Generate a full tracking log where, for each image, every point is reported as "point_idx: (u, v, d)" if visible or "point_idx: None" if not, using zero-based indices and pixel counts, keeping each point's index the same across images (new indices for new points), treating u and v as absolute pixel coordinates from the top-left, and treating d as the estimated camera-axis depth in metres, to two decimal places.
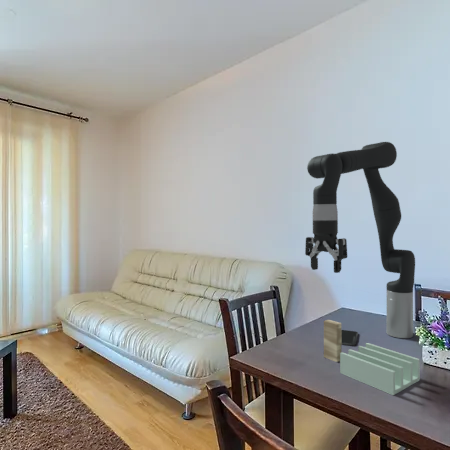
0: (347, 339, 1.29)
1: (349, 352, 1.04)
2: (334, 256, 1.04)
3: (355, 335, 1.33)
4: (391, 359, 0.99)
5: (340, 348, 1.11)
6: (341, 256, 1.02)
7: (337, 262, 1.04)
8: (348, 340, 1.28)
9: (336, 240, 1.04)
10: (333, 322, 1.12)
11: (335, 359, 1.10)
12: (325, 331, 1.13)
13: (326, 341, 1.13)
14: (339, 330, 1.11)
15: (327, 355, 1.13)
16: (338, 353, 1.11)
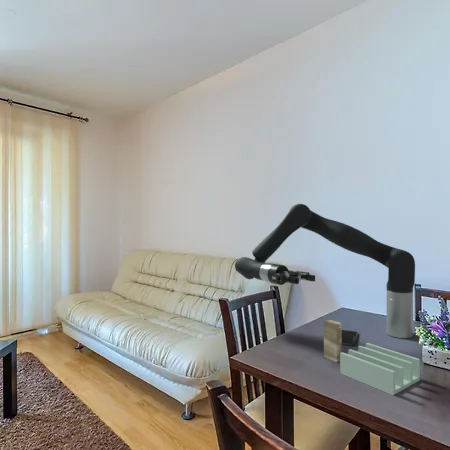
0: (347, 339, 1.29)
1: (349, 352, 1.04)
2: None
3: (355, 335, 1.33)
4: (391, 359, 0.99)
5: (340, 348, 1.11)
6: (282, 283, 1.21)
7: (289, 281, 1.21)
8: (348, 340, 1.28)
9: None
10: (333, 322, 1.12)
11: (335, 359, 1.10)
12: (325, 331, 1.13)
13: (326, 341, 1.13)
14: (339, 330, 1.11)
15: (327, 355, 1.13)
16: (338, 353, 1.11)
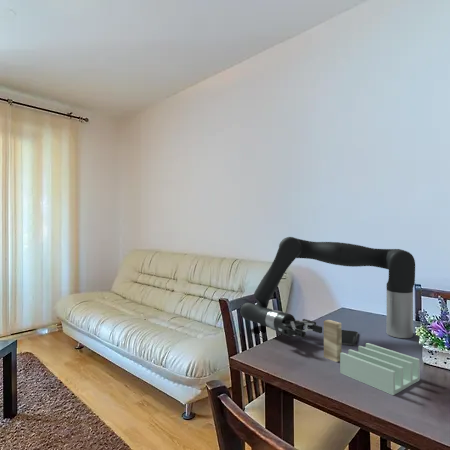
0: (347, 339, 1.29)
1: (349, 352, 1.04)
2: None
3: (355, 335, 1.33)
4: (391, 359, 0.99)
5: (340, 348, 1.11)
6: None
7: None
8: (348, 340, 1.28)
9: None
10: (333, 322, 1.12)
11: (335, 359, 1.10)
12: (325, 331, 1.13)
13: (326, 341, 1.13)
14: (339, 330, 1.11)
15: (327, 355, 1.13)
16: (338, 353, 1.11)
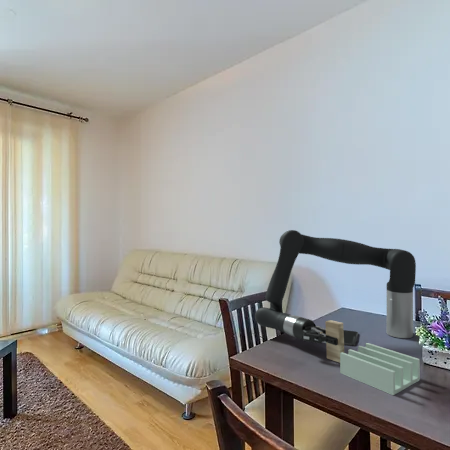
0: (347, 339, 1.29)
1: (349, 352, 1.04)
2: None
3: (355, 335, 1.33)
4: (391, 359, 0.99)
5: (343, 348, 1.10)
6: None
7: None
8: (347, 340, 1.28)
9: None
10: (335, 322, 1.12)
11: (338, 360, 1.09)
12: (327, 332, 1.13)
13: None
14: (341, 330, 1.10)
15: (330, 356, 1.12)
16: None
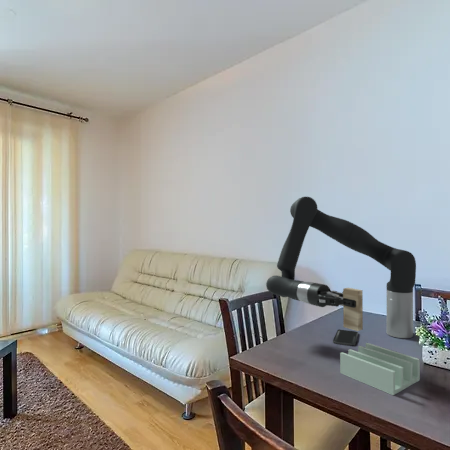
0: (347, 339, 1.29)
1: (349, 352, 1.04)
2: None
3: (355, 335, 1.33)
4: (391, 359, 0.99)
5: (361, 316, 1.05)
6: None
7: (345, 304, 1.06)
8: (347, 340, 1.28)
9: None
10: (353, 289, 1.06)
11: (356, 328, 1.04)
12: None
13: (346, 309, 1.07)
14: (360, 297, 1.04)
15: (347, 324, 1.07)
16: (359, 322, 1.04)
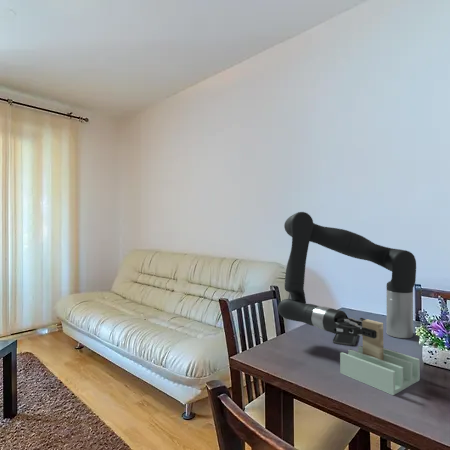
0: (347, 339, 1.29)
1: (349, 352, 1.04)
2: None
3: None
4: (391, 359, 0.99)
5: (382, 351, 1.00)
6: (354, 335, 1.01)
7: None
8: (347, 340, 1.28)
9: None
10: (374, 322, 1.01)
11: None
12: None
13: (366, 343, 1.01)
14: (381, 331, 0.99)
15: None
16: (380, 357, 0.99)
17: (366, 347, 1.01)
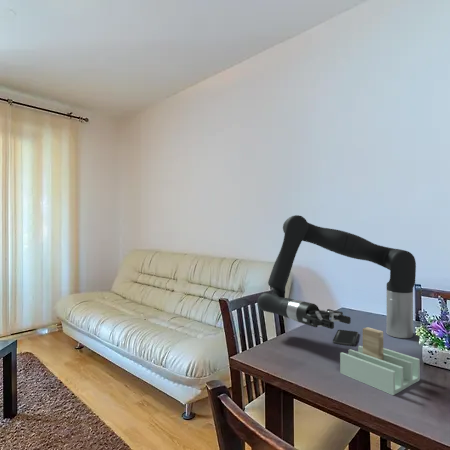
0: (347, 339, 1.29)
1: (349, 352, 1.04)
2: None
3: (355, 335, 1.33)
4: (391, 359, 0.99)
5: (382, 359, 1.00)
6: (314, 326, 1.10)
7: None
8: (347, 340, 1.28)
9: None
10: (374, 330, 1.01)
11: None
12: (364, 340, 1.02)
13: (366, 351, 1.02)
14: (381, 339, 0.99)
15: None
16: None
17: None
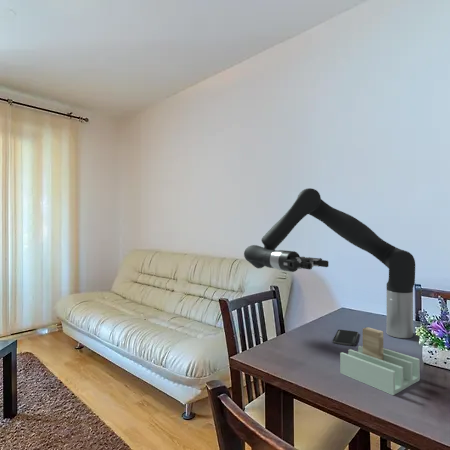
0: (347, 339, 1.29)
1: (349, 352, 1.04)
2: None
3: (355, 335, 1.33)
4: (391, 359, 0.99)
5: (382, 359, 1.00)
6: (294, 268, 1.17)
7: None
8: (347, 340, 1.28)
9: None
10: (374, 330, 1.01)
11: None
12: (364, 340, 1.02)
13: (366, 351, 1.02)
14: (381, 339, 0.99)
15: None
16: None
17: None
